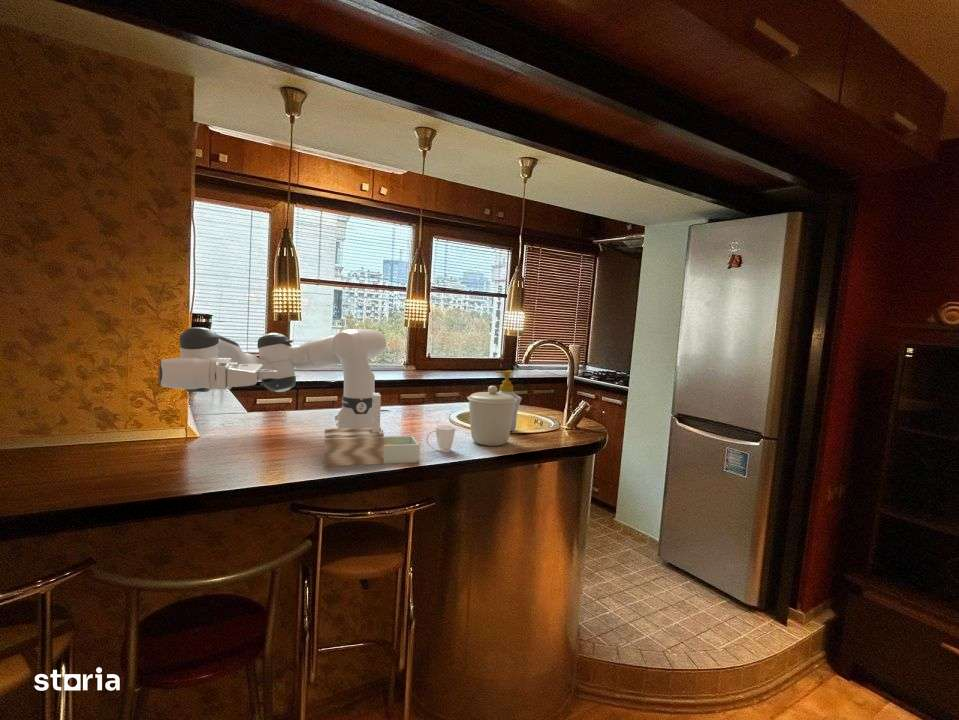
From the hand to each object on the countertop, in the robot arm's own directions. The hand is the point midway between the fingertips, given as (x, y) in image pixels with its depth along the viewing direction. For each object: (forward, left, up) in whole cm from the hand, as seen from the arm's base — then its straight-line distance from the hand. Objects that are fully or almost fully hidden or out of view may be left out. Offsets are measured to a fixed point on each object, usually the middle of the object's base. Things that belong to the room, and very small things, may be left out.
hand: (277, 374), depth 143 cm
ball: (+4, +33, -24) cm, 40 cm away
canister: (-7, +72, -26) cm, 77 cm away
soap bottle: (-24, +86, -26) cm, 94 cm away
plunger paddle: (+3, +28, -18) cm, 34 cm away
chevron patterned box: (+3, +22, -26) cm, 34 cm away
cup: (-1, +51, -26) cm, 58 cm away
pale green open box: (+4, +36, -26) cm, 44 cm away
